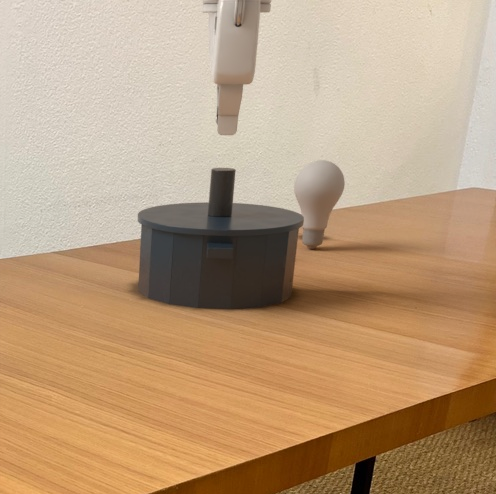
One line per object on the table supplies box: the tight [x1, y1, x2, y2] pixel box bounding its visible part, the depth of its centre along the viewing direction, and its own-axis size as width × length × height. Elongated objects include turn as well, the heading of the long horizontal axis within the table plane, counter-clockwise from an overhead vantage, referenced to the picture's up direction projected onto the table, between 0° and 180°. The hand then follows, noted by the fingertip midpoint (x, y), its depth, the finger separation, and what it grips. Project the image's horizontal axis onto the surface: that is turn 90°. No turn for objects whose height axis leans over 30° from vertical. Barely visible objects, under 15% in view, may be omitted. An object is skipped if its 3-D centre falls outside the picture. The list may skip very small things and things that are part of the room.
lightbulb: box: [293, 159, 346, 250], centre depth 134 cm, size 6×6×11 cm
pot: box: [137, 224, 300, 310], centre depth 109 cm, size 16×21×8 cm
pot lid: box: [137, 167, 304, 236], centre depth 106 cm, size 17×17×6 cm
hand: (225, 130), depth 104 cm, fingers open, 8 cm apart
